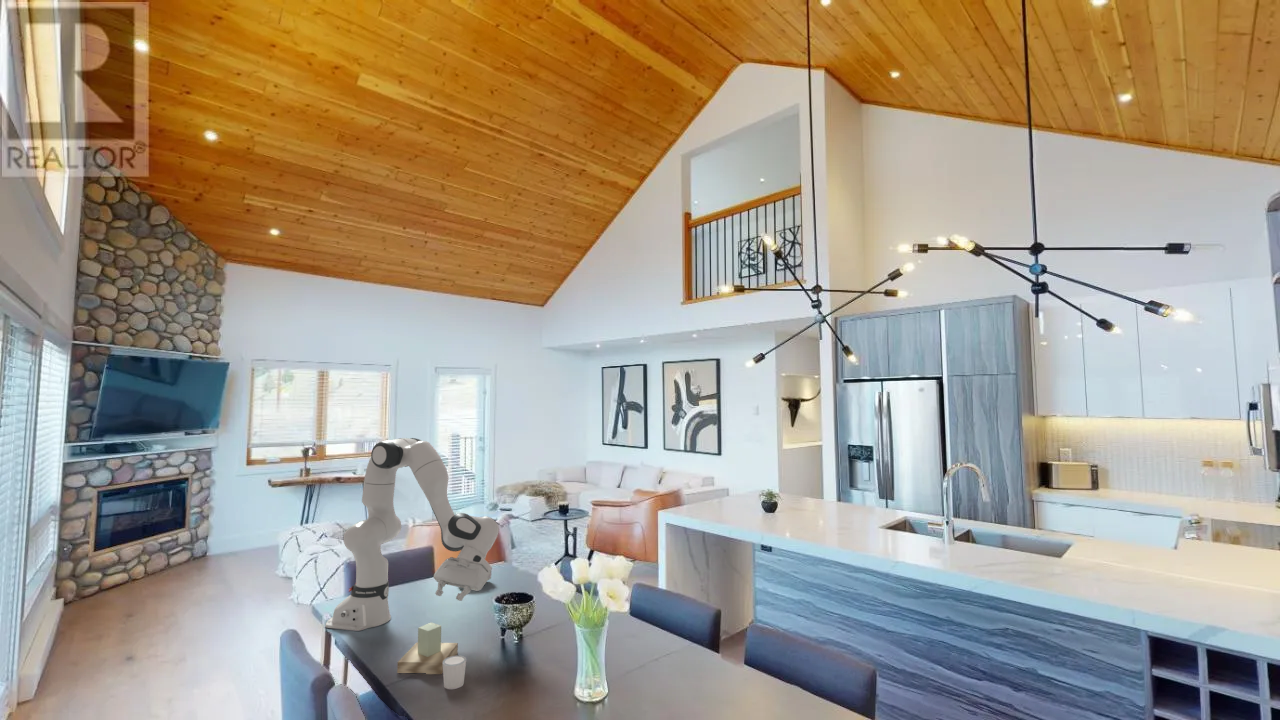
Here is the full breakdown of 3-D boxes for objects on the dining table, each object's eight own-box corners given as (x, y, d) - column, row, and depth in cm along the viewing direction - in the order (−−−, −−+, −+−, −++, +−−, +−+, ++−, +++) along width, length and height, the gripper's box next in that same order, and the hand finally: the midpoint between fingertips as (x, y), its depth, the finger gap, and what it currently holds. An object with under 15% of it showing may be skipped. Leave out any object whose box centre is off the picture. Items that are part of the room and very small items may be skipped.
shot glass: (470, 680, 169) (471, 657, 169) (456, 692, 162) (456, 667, 163) (451, 677, 171) (452, 653, 172) (436, 688, 165) (437, 663, 165)
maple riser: (397, 675, 173) (397, 662, 174) (416, 654, 187) (416, 642, 188) (441, 675, 173) (442, 662, 173) (457, 655, 187) (457, 643, 187)
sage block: (417, 653, 180) (418, 627, 180) (430, 647, 184) (431, 622, 184) (427, 657, 177) (428, 631, 178) (440, 651, 181) (441, 625, 182)
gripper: (443, 551, 201) (420, 587, 191) (487, 559, 191) (465, 597, 182) (452, 561, 204) (430, 597, 195) (495, 569, 195) (475, 607, 186)
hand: (447, 597), depth 188 cm, fingers open, 8 cm apart
